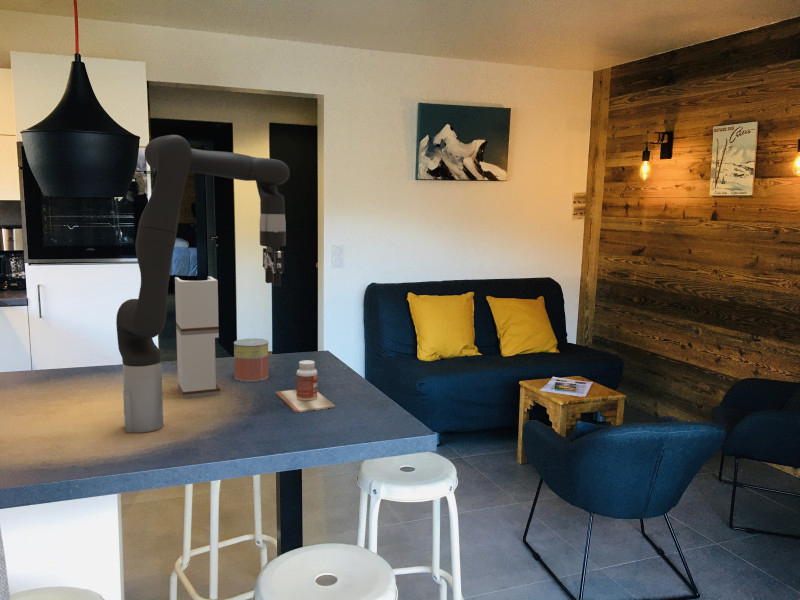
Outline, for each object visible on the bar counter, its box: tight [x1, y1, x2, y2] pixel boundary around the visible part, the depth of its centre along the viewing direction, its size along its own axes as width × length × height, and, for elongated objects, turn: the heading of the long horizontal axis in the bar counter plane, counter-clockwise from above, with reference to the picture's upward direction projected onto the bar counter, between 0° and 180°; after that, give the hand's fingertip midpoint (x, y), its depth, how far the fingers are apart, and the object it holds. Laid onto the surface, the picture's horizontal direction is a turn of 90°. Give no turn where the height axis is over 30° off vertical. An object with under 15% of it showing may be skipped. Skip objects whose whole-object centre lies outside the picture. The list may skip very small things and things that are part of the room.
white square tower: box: [174, 275, 221, 400], centre depth 197 cm, size 11×11×35 cm
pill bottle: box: [296, 359, 318, 401], centre depth 193 cm, size 6×6×11 cm
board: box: [274, 389, 336, 414], centre depth 193 cm, size 12×20×1 cm, turn 26°
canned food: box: [233, 338, 270, 382], centre depth 217 cm, size 11×11×12 cm
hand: (273, 284), depth 192 cm, fingers open, 8 cm apart
